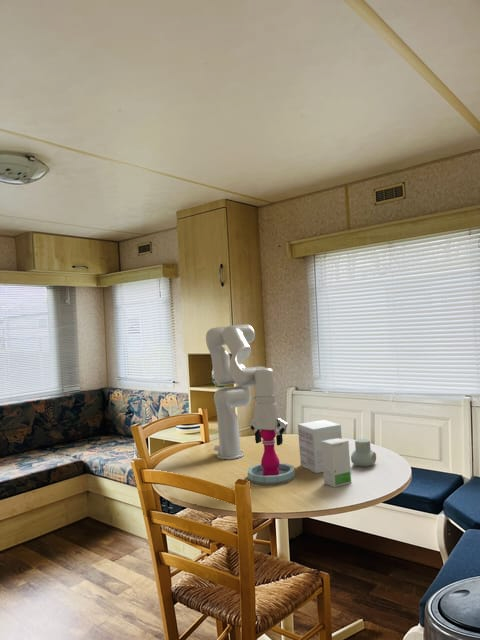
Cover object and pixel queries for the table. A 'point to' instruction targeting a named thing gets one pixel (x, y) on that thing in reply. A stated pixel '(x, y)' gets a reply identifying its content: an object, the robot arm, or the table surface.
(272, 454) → the pepper mill
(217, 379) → the robot arm
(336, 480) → the skincare box
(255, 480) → the round tray
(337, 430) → the supplement box
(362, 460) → the air freshener
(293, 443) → the table surface
